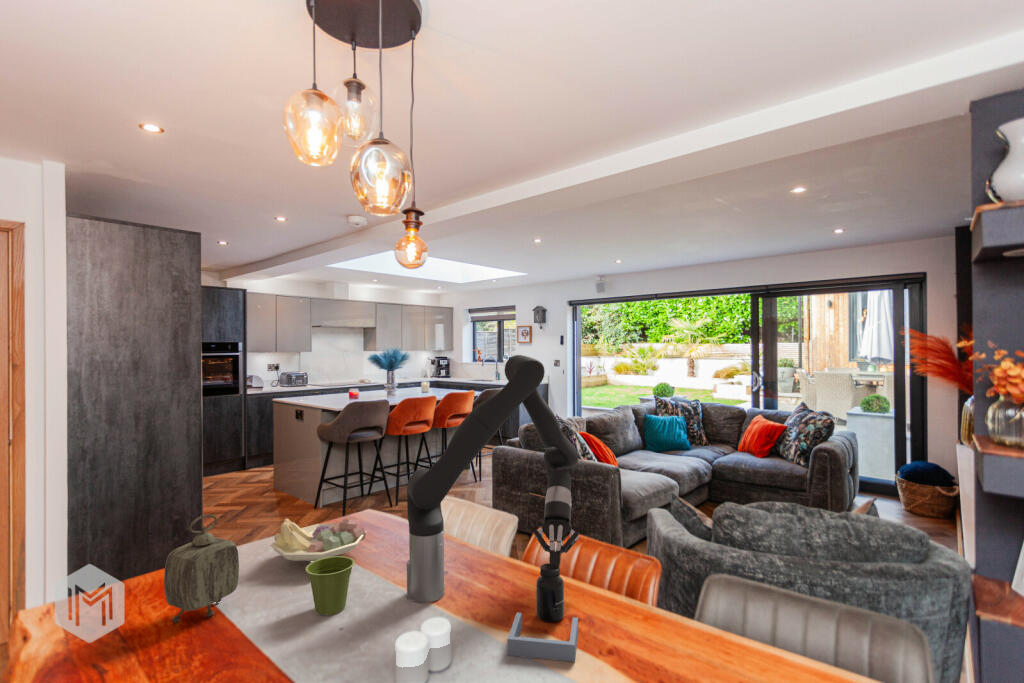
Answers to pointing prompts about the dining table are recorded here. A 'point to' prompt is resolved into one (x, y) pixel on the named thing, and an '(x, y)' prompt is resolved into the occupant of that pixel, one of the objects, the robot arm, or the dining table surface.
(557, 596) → the supplement bottle
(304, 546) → the dish with food
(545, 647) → the bay
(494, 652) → the dining table surface
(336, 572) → the plant pot
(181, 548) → the tabletop clock
